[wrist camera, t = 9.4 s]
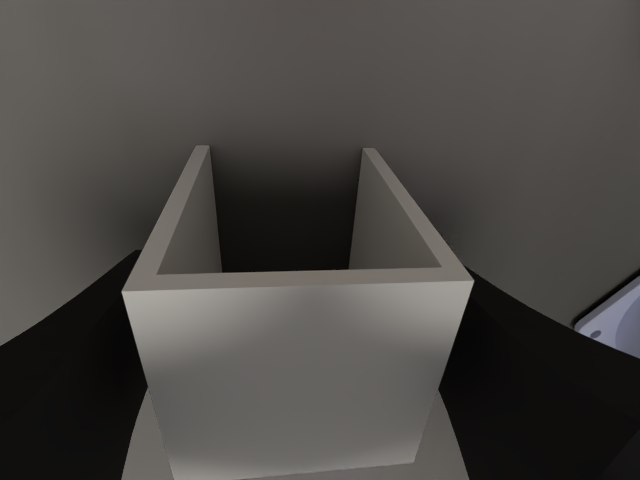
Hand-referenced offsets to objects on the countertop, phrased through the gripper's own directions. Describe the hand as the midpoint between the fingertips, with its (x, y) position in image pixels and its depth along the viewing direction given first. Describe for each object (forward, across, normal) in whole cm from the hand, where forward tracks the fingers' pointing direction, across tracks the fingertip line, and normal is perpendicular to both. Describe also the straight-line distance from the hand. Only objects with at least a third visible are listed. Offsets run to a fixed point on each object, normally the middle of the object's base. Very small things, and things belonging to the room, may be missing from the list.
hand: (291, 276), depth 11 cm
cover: (+3, 0, 0) cm, 3 cm away
